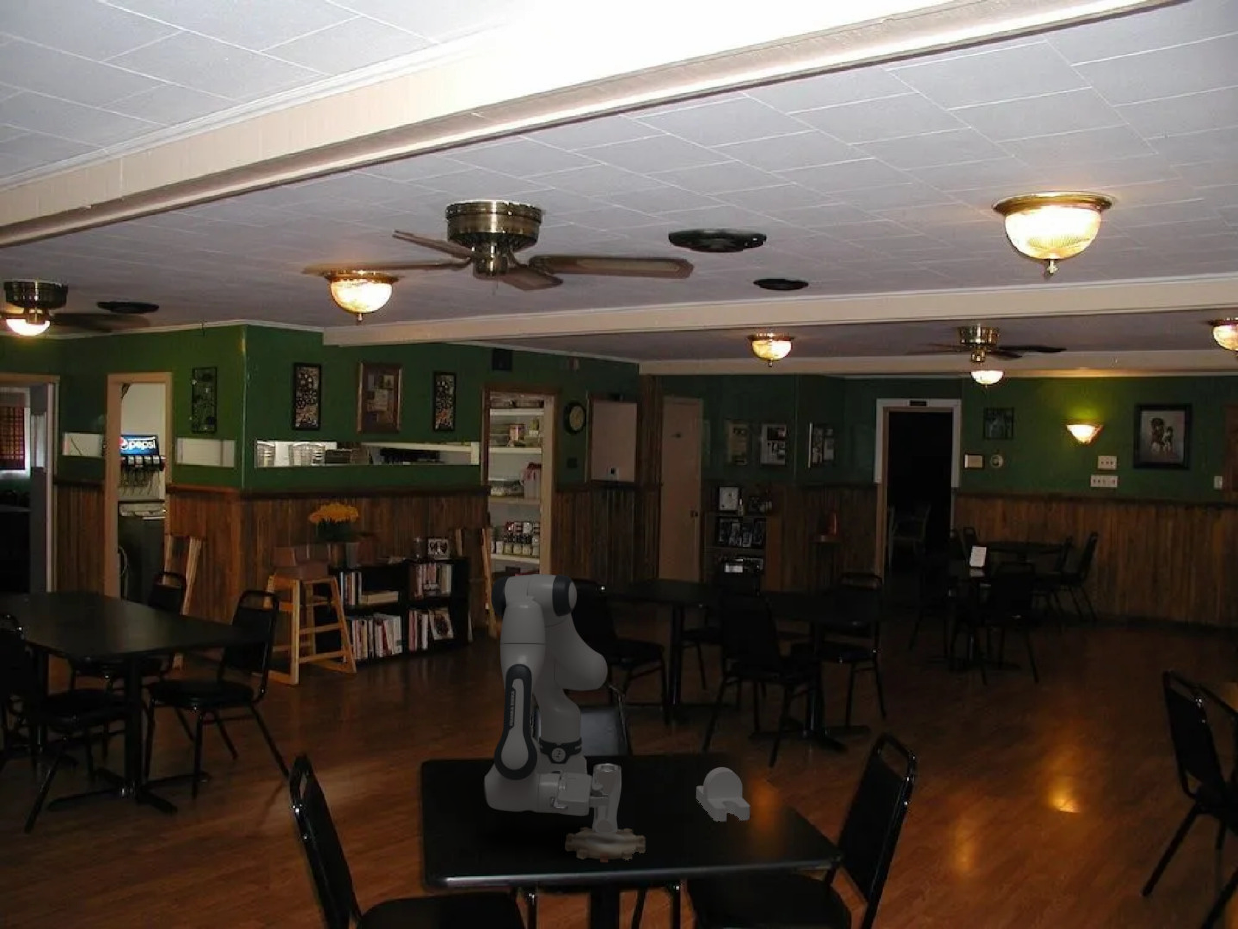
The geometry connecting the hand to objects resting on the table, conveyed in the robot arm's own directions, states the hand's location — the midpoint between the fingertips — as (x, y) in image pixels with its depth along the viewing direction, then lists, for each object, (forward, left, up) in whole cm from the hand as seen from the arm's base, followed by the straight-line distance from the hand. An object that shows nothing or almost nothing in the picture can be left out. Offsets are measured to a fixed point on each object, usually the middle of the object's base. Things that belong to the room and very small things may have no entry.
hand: (609, 795), depth 262 cm
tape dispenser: (-29, +29, -13) cm, 43 cm away
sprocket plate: (0, -1, -12) cm, 12 cm away
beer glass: (0, -1, -8) cm, 9 cm away
